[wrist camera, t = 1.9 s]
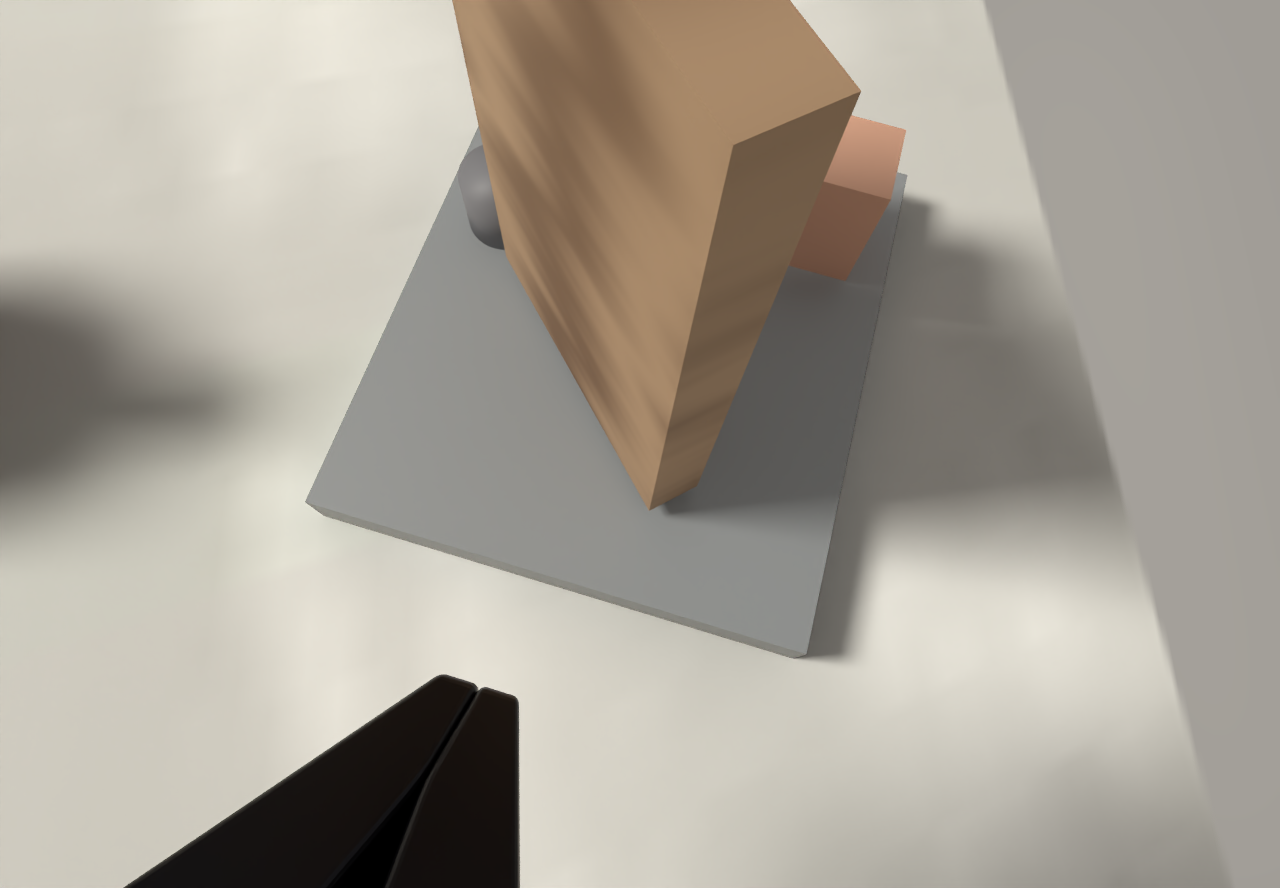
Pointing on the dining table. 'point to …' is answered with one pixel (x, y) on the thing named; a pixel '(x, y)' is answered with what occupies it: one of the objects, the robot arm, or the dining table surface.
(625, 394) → the brown wooden panel
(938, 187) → the dining table surface
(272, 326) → the dining table surface
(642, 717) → the dining table surface
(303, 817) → the robot arm
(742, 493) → the board
